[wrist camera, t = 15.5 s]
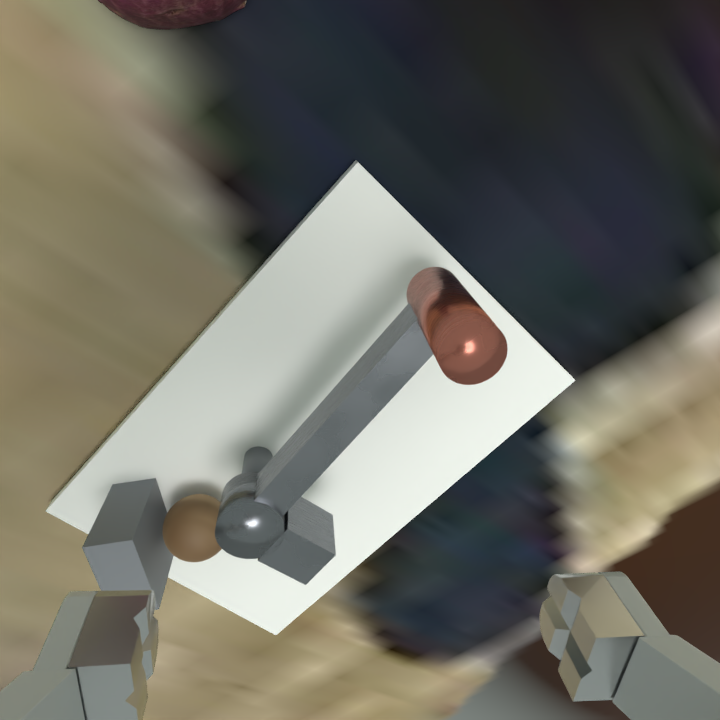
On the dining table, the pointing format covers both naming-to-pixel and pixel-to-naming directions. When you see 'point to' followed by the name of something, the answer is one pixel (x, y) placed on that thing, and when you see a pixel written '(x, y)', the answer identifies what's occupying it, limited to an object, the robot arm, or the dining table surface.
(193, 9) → the vegetable
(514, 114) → the dining table surface
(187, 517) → the brown ball
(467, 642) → the dining table surface
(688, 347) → the dining table surface
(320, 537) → the lever
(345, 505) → the board
